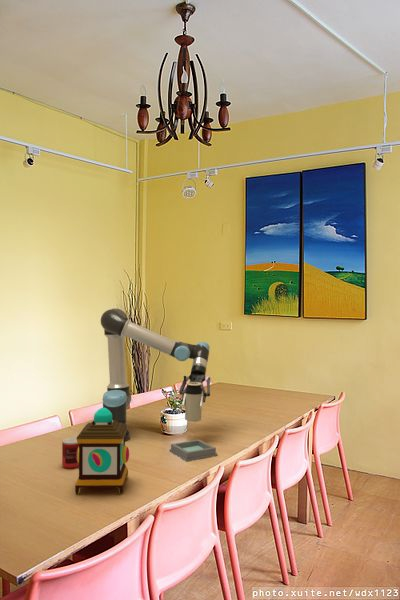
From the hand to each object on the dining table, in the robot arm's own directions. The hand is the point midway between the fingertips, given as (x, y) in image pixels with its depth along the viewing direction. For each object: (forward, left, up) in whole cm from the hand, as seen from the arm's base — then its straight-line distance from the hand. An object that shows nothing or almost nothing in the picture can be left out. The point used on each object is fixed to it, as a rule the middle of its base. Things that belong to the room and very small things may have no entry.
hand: (192, 406), depth 244 cm
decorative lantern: (-55, -27, -19) cm, 64 cm away
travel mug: (+2, +3, -7) cm, 8 cm away
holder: (-6, -11, -19) cm, 23 cm away
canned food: (-59, 0, -19) cm, 62 cm away
